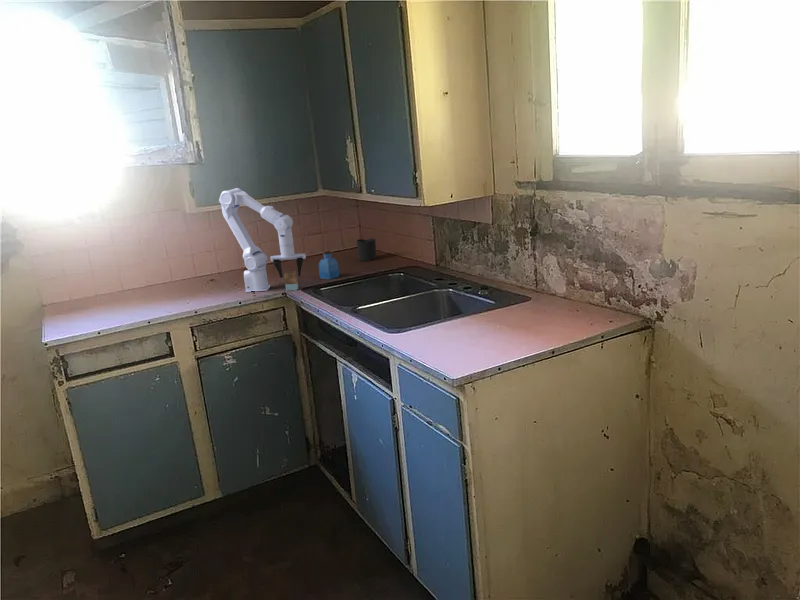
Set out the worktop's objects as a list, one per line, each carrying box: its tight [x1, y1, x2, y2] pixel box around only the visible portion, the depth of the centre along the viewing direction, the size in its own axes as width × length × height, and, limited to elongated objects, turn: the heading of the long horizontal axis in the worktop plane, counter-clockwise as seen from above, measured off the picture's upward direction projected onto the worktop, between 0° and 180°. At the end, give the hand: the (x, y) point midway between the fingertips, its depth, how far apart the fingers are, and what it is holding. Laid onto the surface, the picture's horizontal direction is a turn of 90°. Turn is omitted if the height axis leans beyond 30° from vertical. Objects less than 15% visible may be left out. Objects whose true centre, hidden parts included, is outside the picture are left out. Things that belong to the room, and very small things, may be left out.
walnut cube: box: [283, 270, 298, 285], centre depth 277 cm, size 4×4×4 cm
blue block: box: [285, 280, 299, 292], centre depth 278 cm, size 5×5×3 cm
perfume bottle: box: [318, 250, 340, 280], centre depth 293 cm, size 6×6×12 cm
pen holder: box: [356, 237, 377, 262], centre depth 325 cm, size 9×9×10 cm
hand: (290, 276), depth 277 cm, fingers open, 7 cm apart
